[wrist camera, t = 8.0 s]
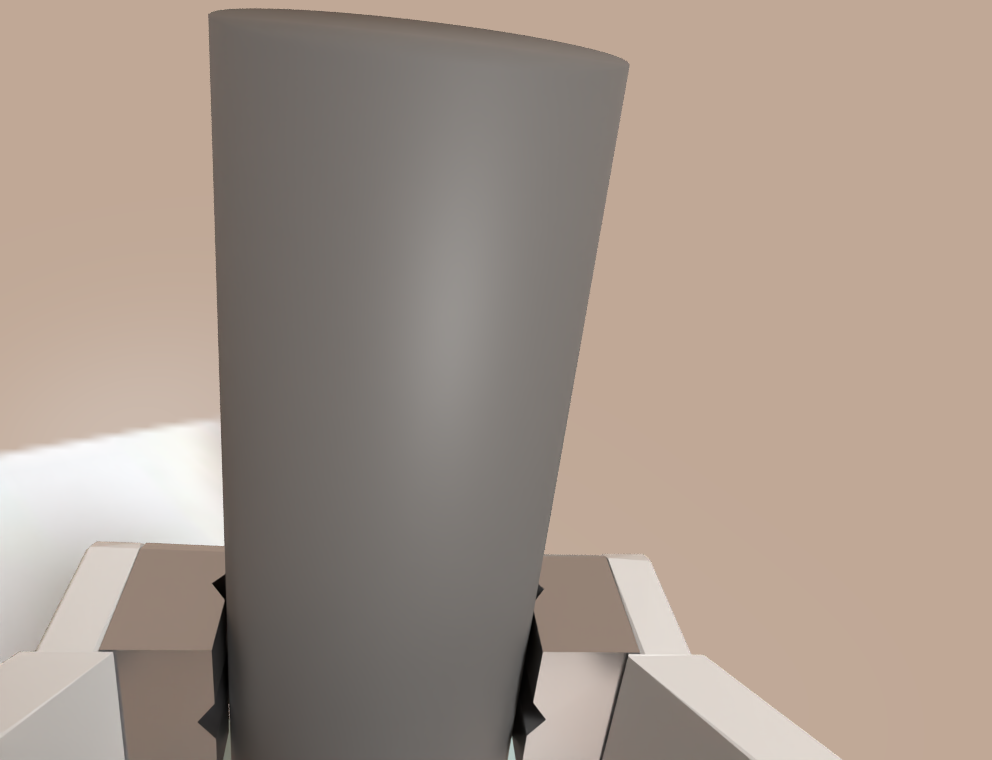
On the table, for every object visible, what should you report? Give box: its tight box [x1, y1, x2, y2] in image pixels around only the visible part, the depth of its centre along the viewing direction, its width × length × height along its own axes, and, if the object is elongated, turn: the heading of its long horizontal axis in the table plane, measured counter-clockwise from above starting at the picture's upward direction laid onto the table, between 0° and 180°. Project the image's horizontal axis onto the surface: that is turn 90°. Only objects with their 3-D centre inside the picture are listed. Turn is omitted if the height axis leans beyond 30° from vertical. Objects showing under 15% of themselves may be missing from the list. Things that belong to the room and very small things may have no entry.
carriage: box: [208, 9, 629, 760], centre depth 9 cm, size 8×9×14 cm
